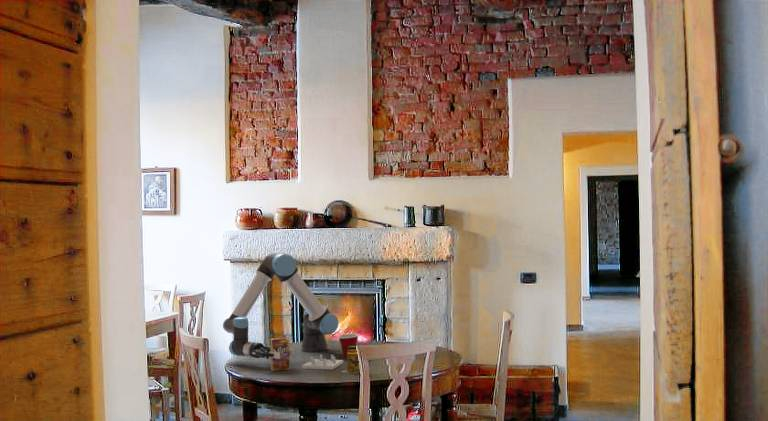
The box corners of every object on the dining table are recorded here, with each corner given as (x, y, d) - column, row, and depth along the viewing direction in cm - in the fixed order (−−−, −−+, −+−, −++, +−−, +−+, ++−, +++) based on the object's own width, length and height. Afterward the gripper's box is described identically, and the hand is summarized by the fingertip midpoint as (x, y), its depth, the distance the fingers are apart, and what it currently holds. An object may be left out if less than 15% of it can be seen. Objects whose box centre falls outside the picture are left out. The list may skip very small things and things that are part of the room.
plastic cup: (336, 356, 345) (336, 334, 346) (356, 355, 348) (355, 332, 349) (340, 360, 335) (340, 337, 335) (360, 358, 338) (360, 335, 338)
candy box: (271, 371, 311) (270, 339, 311) (270, 369, 315) (270, 338, 315) (289, 369, 313) (289, 338, 314) (288, 368, 317) (288, 337, 318)
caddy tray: (313, 362, 332) (313, 353, 332) (343, 363, 327) (343, 354, 327) (301, 368, 316) (301, 359, 316) (332, 369, 312) (332, 360, 312)
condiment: (355, 373, 302) (355, 348, 302) (340, 372, 306) (340, 346, 306) (363, 370, 308) (363, 345, 309) (348, 369, 312) (348, 344, 313)
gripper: (269, 353, 333) (302, 358, 320) (237, 361, 316) (270, 365, 303) (269, 339, 334) (301, 342, 321) (237, 345, 316) (270, 349, 303)
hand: (286, 354), depth 312 cm, fingers closed on candy box, 9 cm apart
